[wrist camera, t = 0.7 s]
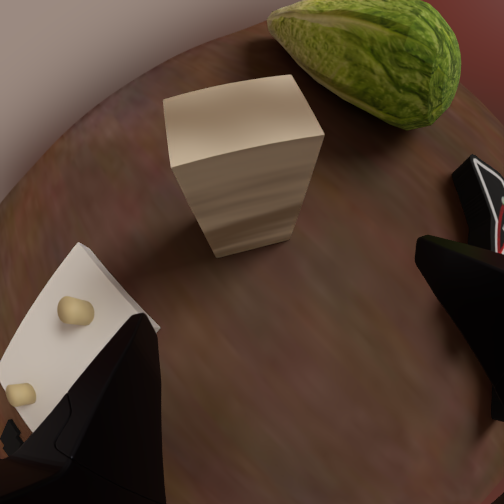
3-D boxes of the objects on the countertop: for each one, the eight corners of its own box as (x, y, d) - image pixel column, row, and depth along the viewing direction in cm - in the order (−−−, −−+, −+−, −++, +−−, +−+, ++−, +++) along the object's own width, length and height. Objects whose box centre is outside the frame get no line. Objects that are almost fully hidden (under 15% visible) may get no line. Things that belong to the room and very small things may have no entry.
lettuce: (245, 92, 34) (319, 66, 38) (419, 163, 21) (461, 119, 25) (226, -7, 22) (312, -13, 26) (441, 1, 9) (476, 17, 13)
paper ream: (289, 239, 23) (324, 134, 10) (216, 258, 22) (170, 167, 10) (274, 194, 24) (289, 72, 11) (205, 211, 23) (162, 97, 11)
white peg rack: (160, 327, 21) (138, 325, 16) (59, 447, 17) (33, 459, 13) (89, 248, 23) (62, 232, 18) (6, 372, 19) (-22, 372, 15)
